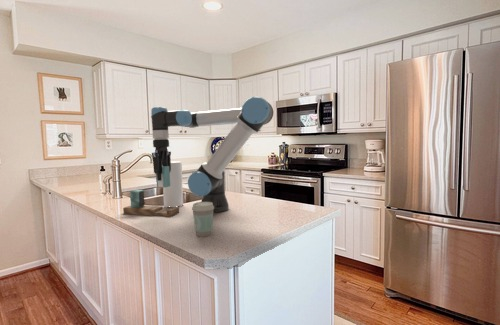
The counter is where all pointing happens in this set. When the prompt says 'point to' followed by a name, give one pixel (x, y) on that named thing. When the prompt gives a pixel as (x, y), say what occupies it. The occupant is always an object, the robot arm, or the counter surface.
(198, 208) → the coffee cup
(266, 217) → the counter surface
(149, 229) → the counter surface
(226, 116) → the robot arm
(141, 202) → the rail
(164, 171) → the block
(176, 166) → the tall pillar cylinder
